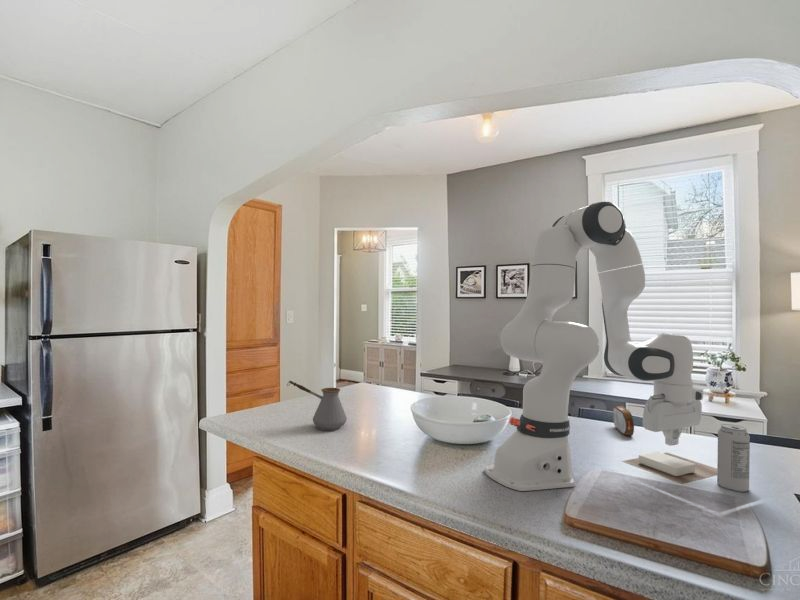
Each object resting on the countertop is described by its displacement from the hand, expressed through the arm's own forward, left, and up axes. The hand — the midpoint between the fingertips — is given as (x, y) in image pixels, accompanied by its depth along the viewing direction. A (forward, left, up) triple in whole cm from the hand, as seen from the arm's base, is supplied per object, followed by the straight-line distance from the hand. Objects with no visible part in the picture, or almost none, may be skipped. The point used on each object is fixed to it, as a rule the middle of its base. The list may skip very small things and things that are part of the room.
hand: (671, 444), depth 112 cm
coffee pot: (-79, +71, -7) cm, 106 cm away
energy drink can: (+1, -14, -7) cm, 16 cm away
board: (+1, 0, -7) cm, 7 cm away
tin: (+20, +29, -7) cm, 36 cm away
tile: (+2, 0, -5) cm, 5 cm away
